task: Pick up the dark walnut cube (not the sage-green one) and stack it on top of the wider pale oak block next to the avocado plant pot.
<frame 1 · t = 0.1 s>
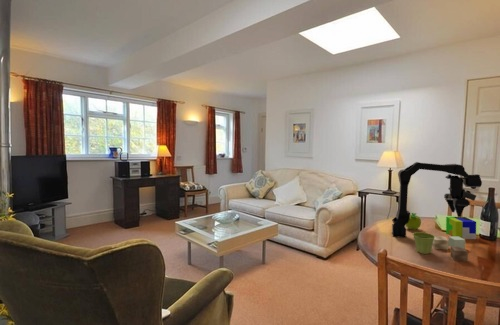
hand: (456, 214, 144), 15 cm above the table, fingers open, 9 cm apart
walnut block: (458, 259, 122), on the table
puzzle toy: (460, 236, 151), on the table
sage block: (456, 247, 135), on the table
oak block: (439, 247, 137), on the table
fruit: (412, 229, 166), on the table
plant pot: (423, 252, 132), on the table
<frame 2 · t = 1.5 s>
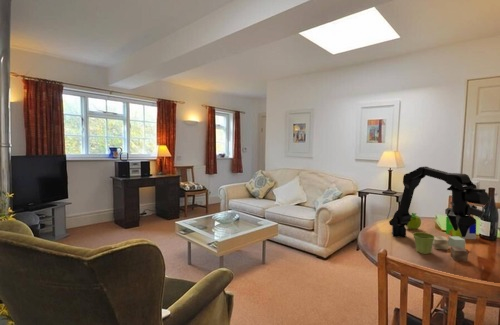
hand: (459, 233, 122), 12 cm above the table, fingers open, 9 cm apart
nothing on the table moved.
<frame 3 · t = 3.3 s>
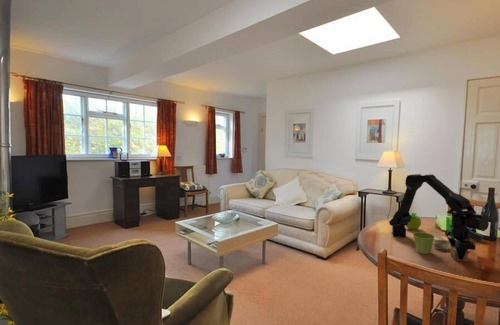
hand: (458, 256, 122), 1 cm above the table, fingers closed on walnut block, 5 cm apart
walnut block: (458, 259, 122), on the table, touching gripper
everything else where it was.
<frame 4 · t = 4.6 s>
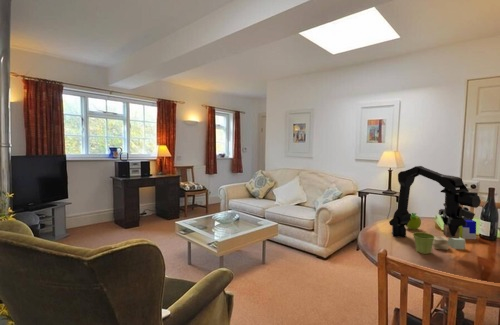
hand: (451, 234, 127), 10 cm above the table, fingers closed on walnut block, 5 cm apart
walnut block: (451, 236, 127), point 9 cm above the table, touching gripper
everything else where it was.
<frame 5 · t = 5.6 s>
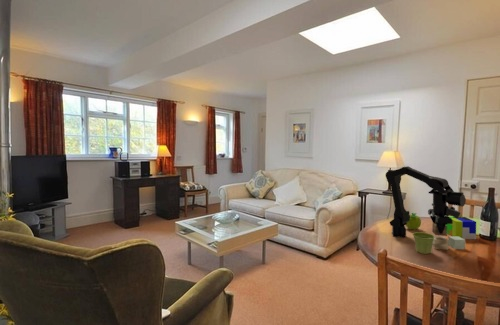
hand: (439, 231, 136), 8 cm above the table, fingers closed on walnut block, 5 cm apart
walnut block: (439, 233, 136), point 7 cm above the table, touching gripper
everything else where it was.
when the fingers open (7 cm above the table, at t = 6.2 s): walnut block drops 1 cm, resting on oak block.
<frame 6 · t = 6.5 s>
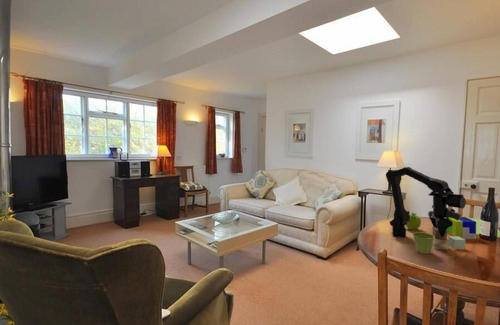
hand: (439, 234, 136), 7 cm above the table, fingers open, 9 cm apart
walnut block: (439, 238, 136), point 5 cm above the table, touching oak block
oak block: (439, 247, 137), on the table, touching walnut block
everything else where it was.
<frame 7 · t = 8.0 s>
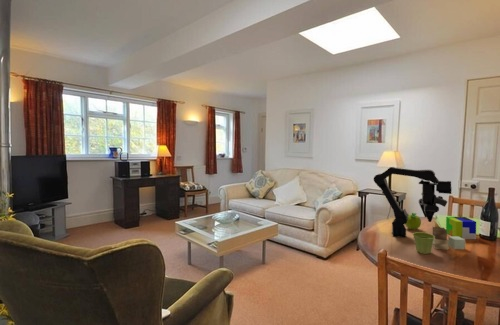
hand: (427, 219, 146), 12 cm above the table, fingers open, 9 cm apart
walnut block: (439, 238, 136), point 5 cm above the table
oak block: (439, 247, 137), on the table
everything else where it was.
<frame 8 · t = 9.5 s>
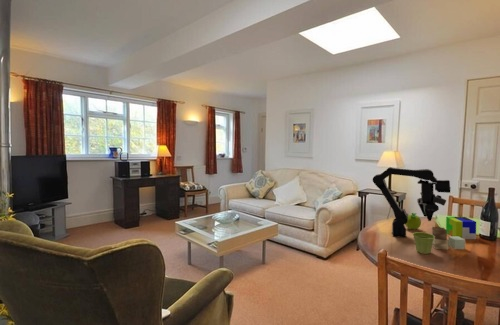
hand: (427, 218, 147), 12 cm above the table, fingers open, 9 cm apart
walnut block: (439, 238, 136), point 5 cm above the table, touching oak block
oak block: (439, 247, 137), on the table, touching walnut block
everything else where it was.
at the end: walnut block 0.0 cm off-centre on the oak block, point 5.0 cm above the oak block's base; walnut block tilted 0°; the gripper is holding nothing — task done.
